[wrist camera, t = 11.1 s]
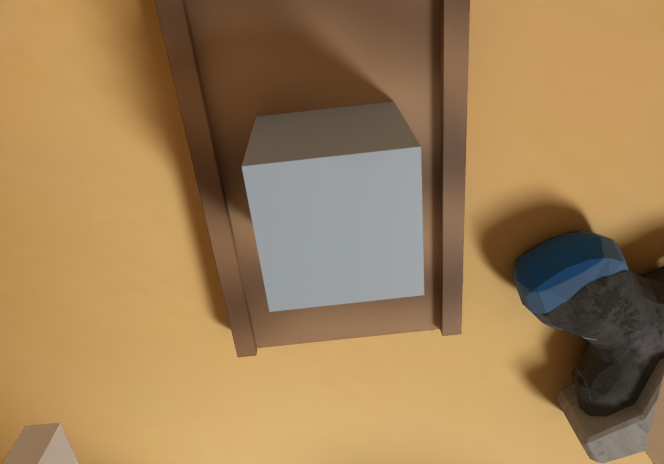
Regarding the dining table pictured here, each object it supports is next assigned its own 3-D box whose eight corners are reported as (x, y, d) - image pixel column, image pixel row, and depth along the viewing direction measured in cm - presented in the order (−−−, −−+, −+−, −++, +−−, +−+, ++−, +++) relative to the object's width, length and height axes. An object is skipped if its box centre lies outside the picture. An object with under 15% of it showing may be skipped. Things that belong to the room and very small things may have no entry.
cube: (399, 224, 26) (424, 295, 20) (276, 237, 26) (269, 311, 20) (394, 101, 23) (421, 146, 18) (256, 116, 23) (241, 166, 18)
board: (452, 313, 30) (461, 334, 28) (241, 335, 30) (237, 357, 28) (458, -74, 21) (471, -76, 19) (157, -42, 21) (145, -41, 19)
